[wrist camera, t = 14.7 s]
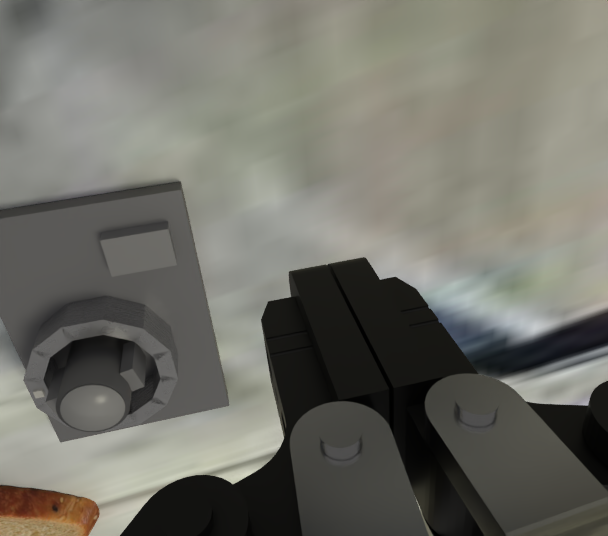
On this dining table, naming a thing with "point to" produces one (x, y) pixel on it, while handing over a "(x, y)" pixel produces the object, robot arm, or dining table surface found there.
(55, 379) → the domed grey cylinder
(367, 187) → the dining table surface
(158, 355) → the grey thick ring
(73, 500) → the slice of bread
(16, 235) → the camera plate
